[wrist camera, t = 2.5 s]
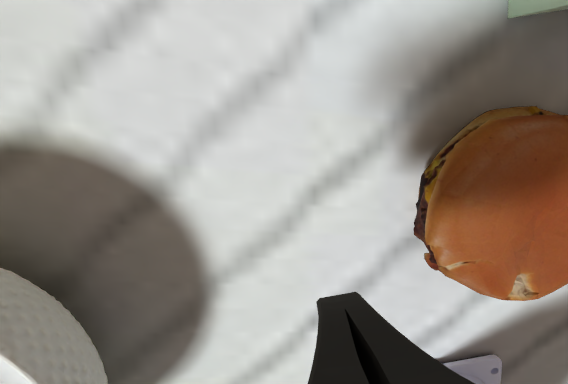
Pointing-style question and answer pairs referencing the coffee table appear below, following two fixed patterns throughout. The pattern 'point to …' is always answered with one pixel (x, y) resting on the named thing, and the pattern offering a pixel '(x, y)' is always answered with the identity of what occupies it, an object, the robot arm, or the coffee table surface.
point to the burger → (500, 205)
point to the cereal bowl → (42, 338)
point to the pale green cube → (534, 7)
